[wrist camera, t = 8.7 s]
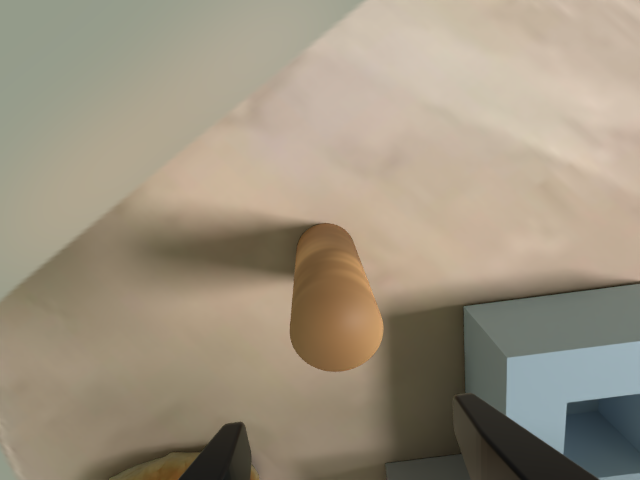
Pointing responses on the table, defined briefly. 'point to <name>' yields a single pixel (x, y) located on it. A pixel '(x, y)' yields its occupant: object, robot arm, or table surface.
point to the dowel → (332, 302)
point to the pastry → (165, 468)
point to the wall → (429, 469)
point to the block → (564, 372)
